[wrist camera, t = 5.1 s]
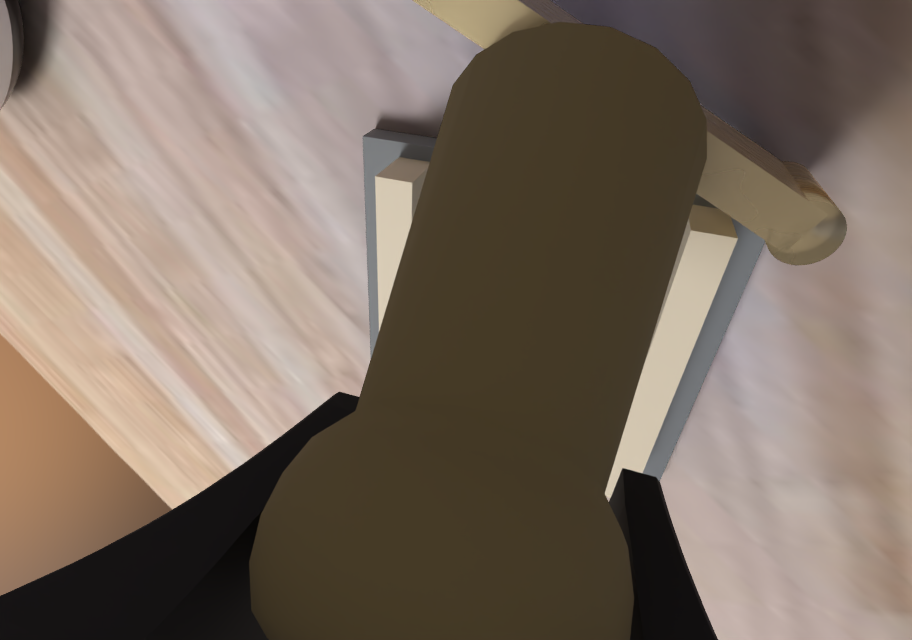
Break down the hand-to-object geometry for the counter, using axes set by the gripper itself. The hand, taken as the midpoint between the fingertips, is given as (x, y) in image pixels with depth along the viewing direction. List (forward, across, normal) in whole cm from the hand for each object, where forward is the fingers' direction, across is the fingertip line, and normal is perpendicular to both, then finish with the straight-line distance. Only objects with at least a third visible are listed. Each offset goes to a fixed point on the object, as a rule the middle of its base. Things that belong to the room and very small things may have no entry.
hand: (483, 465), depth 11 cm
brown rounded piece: (+6, 0, -5) cm, 8 cm away
